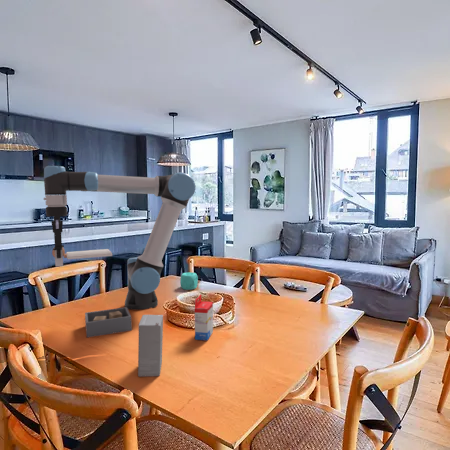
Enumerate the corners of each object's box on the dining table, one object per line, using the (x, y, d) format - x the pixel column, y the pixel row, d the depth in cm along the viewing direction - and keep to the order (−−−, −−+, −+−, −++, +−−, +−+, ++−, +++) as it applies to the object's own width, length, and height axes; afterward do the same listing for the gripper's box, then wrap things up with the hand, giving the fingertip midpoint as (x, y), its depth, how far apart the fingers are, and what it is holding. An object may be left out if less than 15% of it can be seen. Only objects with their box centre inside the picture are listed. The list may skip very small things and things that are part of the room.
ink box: (207, 341, 123) (207, 301, 122) (194, 340, 124) (193, 300, 123) (213, 331, 132) (213, 294, 130) (200, 330, 133) (200, 293, 131)
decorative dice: (180, 289, 190) (180, 275, 189) (184, 285, 198) (184, 272, 197) (194, 290, 189) (194, 275, 188) (198, 286, 197) (197, 272, 196)
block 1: (106, 328, 134) (106, 315, 134) (104, 332, 130) (104, 319, 130) (96, 329, 134) (95, 316, 133) (93, 333, 130) (93, 320, 129)
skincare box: (141, 363, 107) (140, 314, 106) (164, 362, 108) (163, 313, 106) (137, 378, 99) (135, 324, 97) (162, 376, 99) (161, 323, 98)
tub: (127, 321, 143) (126, 307, 143) (131, 331, 132) (131, 316, 132) (85, 327, 137) (85, 312, 136) (86, 339, 126) (86, 323, 125)
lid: (108, 251, 151) (108, 241, 150) (112, 255, 139) (111, 245, 139) (52, 255, 141) (52, 244, 141) (52, 260, 130) (51, 249, 130)
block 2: (119, 322, 140) (119, 310, 139) (122, 325, 136) (122, 313, 136) (109, 325, 138) (108, 312, 137) (112, 328, 134) (111, 315, 134)
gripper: (46, 205, 141) (49, 262, 143) (44, 207, 126) (48, 270, 128) (66, 205, 144) (69, 260, 147) (67, 206, 129) (70, 268, 131)
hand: (59, 264), depth 137 cm, fingers closed on lid, 4 cm apart
